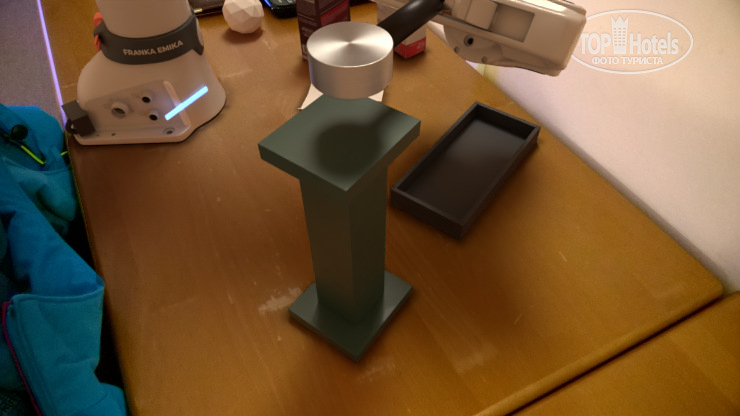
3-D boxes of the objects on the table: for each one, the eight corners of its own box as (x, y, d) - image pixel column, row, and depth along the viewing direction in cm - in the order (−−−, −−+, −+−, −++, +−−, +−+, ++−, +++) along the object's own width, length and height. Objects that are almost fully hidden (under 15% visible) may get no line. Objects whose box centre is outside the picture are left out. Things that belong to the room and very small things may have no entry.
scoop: (438, -22, 44) (440, -51, 42) (496, -4, 42) (501, -34, 40) (293, 80, 34) (288, 48, 32) (359, 110, 32) (358, 77, 30)
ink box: (426, 51, 88) (432, -16, 79) (403, 60, 86) (406, -8, 77) (397, 30, 93) (399, -36, 84) (374, 38, 91) (374, -28, 82)
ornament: (239, 16, 96) (259, -18, 92) (258, 44, 94) (280, 10, 90) (208, 11, 91) (228, -26, 86) (228, 40, 89) (249, 4, 84)
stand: (347, 254, 59) (335, 78, 41) (412, 293, 55) (430, 119, 37) (289, 316, 53) (247, 144, 35) (357, 363, 50) (347, 199, 32)
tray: (473, 115, 76) (476, 100, 74) (536, 141, 72) (541, 126, 70) (389, 203, 64) (390, 188, 62) (459, 240, 60) (462, 226, 58)
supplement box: (331, 37, 91) (325, -56, 79) (353, 45, 89) (349, -49, 77) (300, 58, 87) (288, -37, 75) (322, 67, 85) (313, -29, 73)
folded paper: (386, 80, 82) (387, 69, 81) (374, 127, 74) (374, 116, 73) (315, 73, 84) (314, 63, 82) (296, 119, 76) (294, 108, 74)
